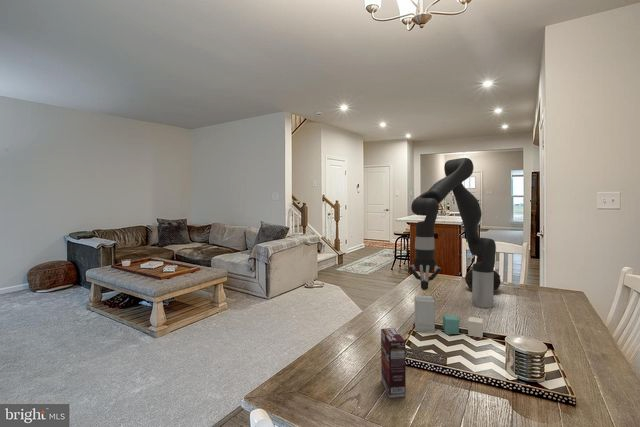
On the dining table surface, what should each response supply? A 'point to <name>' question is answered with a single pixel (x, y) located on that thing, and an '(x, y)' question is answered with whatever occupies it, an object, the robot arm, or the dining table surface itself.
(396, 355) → the supplement box
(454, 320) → the teal block
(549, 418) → the dining table surface
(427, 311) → the supplement box
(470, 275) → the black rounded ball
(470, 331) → the cream block
